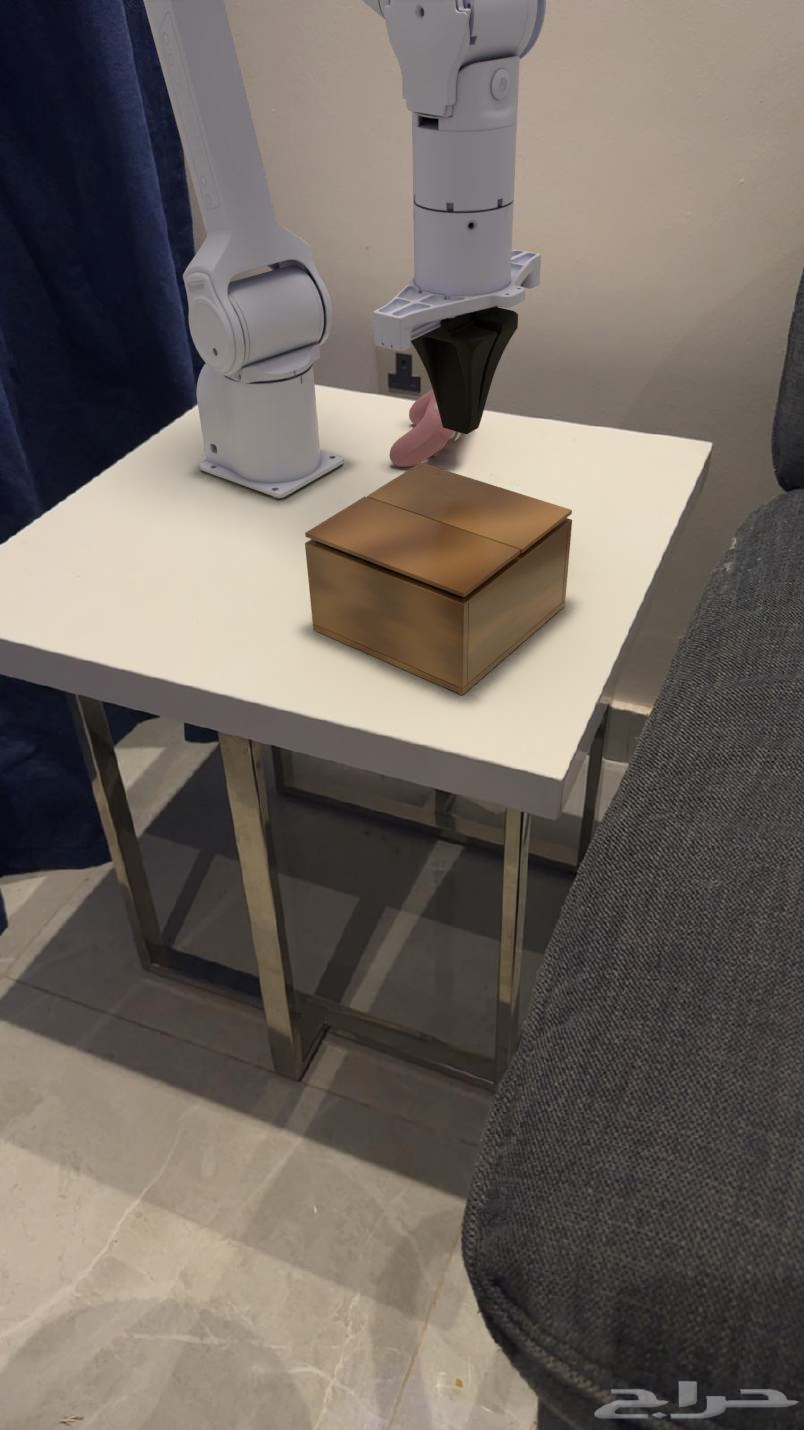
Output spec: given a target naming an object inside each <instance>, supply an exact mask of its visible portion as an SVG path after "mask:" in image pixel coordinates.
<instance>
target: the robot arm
mask: <svg viewBox="0 0 804 1430" xmlns="http://www.w3.org/2000/svg"><path fill="white" fill-rule="evenodd" d="M142 1H143V4H144V7H145V11H146V16H147V19H148V23H149V26H150V30H151V34H152V37H153V41H154V45H155V49H156V53H157V56H158V59H159V63H160V64H159V65H160V67H161V71H162V74H163V75H162V76H163V78H164V82H165V85H166V89H167V94H168V96H169V97H168V98H169V100H170V104H171V108H172V111H173V115H174V119H175V122H176V126H177V130H178V134H179V138H180V142H181V145H182V148H183V153H184V156H185V159H186V160H185V161H186V163H187V167H188V171H189V175H190V178H191V182H192V185H193V189H194V193H195V196H196V197H195V198H196V200H197V204H198V208H199V211H200V216H201V219H202V222H203V226H204V230H205V234H206V238H205V239H204V241H203V242H202V244H201V246H200V247H199V249H198V250H197V252H196V254H195V255H194V256H193V258H192V259H191V261H190V262H189V263H188V266H187V267H186V269H185V270H184V272H183V274H182V279H183V282H184V288H185V292H186V296H187V304H188V327H189V332H190V336H191V338H192V339H191V340H192V342H193V345H194V346H195V347H194V348H195V349H196V351H197V352H198V354H199V356H200V358H201V359H202V360H203V361H204V364H203V366H202V368H201V370H200V373H199V375H198V379H197V383H196V392H195V393H196V403H197V408H198V409H197V410H198V415H199V422H200V428H201V434H202V441H203V445H204V446H203V447H204V453H205V459H206V460H204V461H202V462H200V463H199V469H200V471H203V472H205V473H208V474H210V475H214V476H216V477H219V478H221V479H225V480H227V481H230V482H233V483H235V484H238V485H240V486H244V487H246V488H249V489H251V490H254V491H257V492H260V493H263V494H266V495H269V496H271V497H274V498H277V499H283V498H285V497H288V496H289V495H290V494H293V493H294V492H295V491H298V490H300V489H301V488H304V486H307V485H308V484H310V483H312V482H314V481H315V480H317V479H319V478H321V477H322V476H324V475H326V474H327V473H329V472H331V471H333V470H334V469H337V468H339V467H340V466H341V465H343V464H344V458H343V457H342V456H339V455H336V454H333V453H331V452H330V453H329V452H326V451H324V450H321V446H320V432H319V422H318V421H319V419H318V409H317V397H316V386H315V385H316V384H315V373H314V362H315V361H317V360H320V359H321V348H320V346H321V345H323V344H324V343H326V341H327V339H328V338H329V336H330V334H331V331H332V326H333V305H332V300H331V296H330V294H329V291H328V289H327V287H326V284H325V283H324V280H323V279H322V277H321V276H320V274H319V272H318V269H317V267H316V264H315V261H314V258H313V253H312V248H311V245H310V244H309V243H308V242H307V241H306V240H304V239H303V238H301V237H300V236H299V235H297V234H296V233H294V232H292V231H291V230H290V229H288V228H286V227H285V226H283V225H282V224H281V223H279V222H278V220H277V217H276V212H275V209H274V204H273V199H272V196H271V192H270V187H269V183H268V179H267V175H266V171H265V166H264V163H263V159H262V154H261V149H260V145H259V142H258V137H257V134H256V133H257V132H256V129H255V125H254V120H253V117H252V112H251V108H250V104H249V99H248V95H247V91H246V88H245V83H244V79H243V74H242V71H241V66H240V62H239V58H238V54H237V50H236V46H235V42H234V37H233V32H232V29H231V25H230V21H229V15H228V12H227V8H226V4H225V0H142ZM361 1H362V2H364V4H366V5H367V6H368V7H369V8H371V9H372V10H373V11H374V12H376V14H378V15H379V16H380V17H381V18H382V19H383V20H385V27H386V32H387V36H388V39H389V42H390V46H391V48H392V51H393V53H394V55H395V57H396V59H397V62H398V64H399V69H400V73H401V85H402V87H401V89H402V99H404V100H405V105H406V109H407V110H408V111H409V112H411V133H412V135H411V136H412V138H411V139H412V140H411V141H412V142H411V143H412V146H411V147H412V196H413V197H412V212H413V216H412V217H413V218H412V219H413V268H414V269H413V270H414V271H413V272H414V277H413V278H411V280H410V281H409V282H408V283H406V284H405V286H404V287H403V288H402V289H401V290H400V291H399V292H397V294H396V295H395V296H394V297H393V298H392V299H391V300H390V301H389V302H387V303H386V304H384V305H383V306H381V307H379V308H377V309H375V310H373V311H372V317H373V318H372V320H373V321H372V322H373V323H372V325H373V343H374V344H373V345H374V346H375V347H380V348H383V349H388V350H391V351H395V352H399V353H402V352H404V351H406V350H409V349H410V348H411V347H412V346H413V348H414V349H415V352H416V353H417V355H418V356H419V359H420V360H421V362H422V364H423V367H424V369H425V372H426V374H427V376H428V380H429V382H430V385H431V389H432V388H433V392H434V395H435V399H436V403H437V407H438V410H439V414H440V418H441V422H442V426H443V428H446V429H449V430H452V431H456V432H459V433H461V434H463V435H469V434H471V433H472V432H474V431H476V430H477V429H479V427H480V424H481V421H482V418H483V414H484V411H485V407H486V404H487V401H488V400H487V399H488V396H489V393H490V389H491V386H492V383H493V379H494V376H495V373H496V371H497V368H498V365H499V363H500V361H501V359H502V357H503V354H504V352H505V350H506V349H507V346H508V344H509V342H510V341H511V339H512V337H513V336H514V334H515V333H516V331H517V330H518V328H519V327H518V325H519V313H517V312H516V311H514V310H512V309H509V308H512V307H515V306H517V305H519V304H521V303H523V302H524V301H525V300H526V289H529V290H530V289H533V288H535V287H539V285H540V280H541V267H542V266H541V264H542V254H541V253H538V252H534V251H527V250H523V249H517V248H516V249H513V224H514V205H515V204H514V201H515V180H516V159H517V158H516V156H517V155H516V154H517V133H518V132H517V131H518V112H519V111H518V107H519V88H520V87H519V86H520V85H519V83H520V64H521V63H520V60H522V59H523V58H524V57H526V56H527V55H528V54H529V53H530V52H531V50H532V49H533V47H534V46H535V45H536V43H537V41H538V39H539V37H540V34H541V31H542V30H543V25H544V21H545V16H546V8H547V0H361ZM263 267H267V268H269V269H270V270H269V271H265V272H262V273H257V274H254V275H251V276H246V277H244V278H240V279H236V280H233V281H232V279H233V278H234V277H235V276H237V275H239V274H241V273H245V272H249V271H252V270H255V269H256V270H257V269H259V268H263Z"/></svg>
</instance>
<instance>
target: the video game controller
mask: <svg viewBox="0 0 804 1430" xmlns="http://www.w3.org/2000/svg"><path fill="white" fill-rule="evenodd" d="M408 417H409V421H410V422H411V423H412V424H413V425H415V426H414V427H413V428H412V429H410V430H409V431H407V432H406V433H405V434H403V435H402V436H401V437H399V438H398V439H397V440H396V441H395V442H393V444H392V446H391V447H390V450H389V460H390V461H391V463H392V464H393V465H394V466H396V467H400V468H404V467H414V466H416V465H417V464H419V463H423V462H424V461H426V460H427V459H429V458H431V457H433V456H434V457H435V458H436V457H438V456H439V454H440V452H441V451H442V450H443V449H444V447H445V446H446V444H447V442H448V441H450V440H451V439H453V440H454V441H457V440H458V439H459V438H460V437H461V435H462V433H459V432H456V431H452V430H449V429H446V428H443V426H442V422H441V418H440V414H439V410H438V407H437V403H436V399H435V395H434V392H433V388H432V387H431V389H430V390H429V391H427V392H426V393H425V394H423V395H422V396H420V397H419V398H418V399H416V400H415V401H414V402H413V404H412V405H411V406H410V408H409V411H408Z"/></svg>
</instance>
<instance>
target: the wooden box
mask: <svg viewBox="0 0 804 1430" xmlns="http://www.w3.org/2000/svg"><path fill="white" fill-rule="evenodd" d="M572 528H573V519H572V518H568V517H567V518H566V519H565V520H563V521H562V522H561V523H560V524H558V525H557V526H556V527H555V528H553V529H552V530H551V531H549V532H548V533H547V534H546V535H544V536H543V537H542V538H541V539H539V540H538V541H537V542H536V543H534V544H533V545H532V546H530V547H529V548H528V549H527V550H525V551H524V552H523V553H520V549H517V548H514V547H511V546H508V545H505V544H502V543H499V542H496V541H493V540H491V539H488V538H485V537H482V536H479V535H476V534H473V533H470V532H467V531H464V530H462V529H459V528H456V527H453V526H450V525H447V524H444V523H441V522H438V521H435V520H432V519H430V518H427V517H424V516H421V515H418V514H415V513H412V512H409V511H406V510H403V509H401V508H398V507H395V506H392V505H389V504H386V503H383V502H380V501H377V500H374V499H372V498H369V497H367V495H365V496H363V497H362V498H359V499H358V500H356V501H355V502H353V503H352V504H350V505H348V506H346V507H345V508H342V509H341V510H339V512H337V513H335V514H333V515H332V516H330V517H329V518H327V519H324V521H322V522H320V523H319V524H317V525H316V526H314V527H312V528H310V529H309V530H307V531H306V532H305V533H304V536H305V538H307V539H310V540H308V541H306V542H305V543H304V548H305V549H304V550H305V560H306V568H307V581H308V589H309V590H308V592H309V600H310V601H309V602H310V610H311V621H312V630H313V631H315V632H317V633H320V634H322V635H325V636H326V637H329V638H331V639H333V640H336V641H338V642H340V643H343V644H344V645H347V646H350V647H352V648H354V649H356V650H359V651H361V652H363V653H365V654H367V655H370V656H372V657H374V658H376V659H378V660H381V661H383V662H386V663H388V664H390V665H392V666H395V667H398V668H400V669H401V670H404V671H407V672H409V673H411V674H412V675H415V676H417V677H420V678H422V679H425V680H426V681H429V682H432V683H433V684H436V685H437V686H440V687H443V688H445V689H447V690H450V691H452V692H454V693H456V694H459V695H461V696H463V695H464V694H466V692H468V691H469V690H470V689H472V688H473V686H475V685H476V684H477V683H479V681H480V680H482V679H483V678H484V677H485V676H486V675H487V674H488V673H490V672H491V671H492V670H494V668H496V667H497V666H498V665H499V664H500V663H501V662H502V661H504V659H506V657H508V656H509V655H510V654H511V653H513V652H514V651H515V650H516V649H518V648H519V646H520V645H522V644H523V643H524V642H526V640H528V639H529V638H530V637H531V636H532V635H533V634H535V633H536V632H537V631H538V630H539V629H540V628H541V627H543V626H544V625H546V623H547V622H548V621H549V620H551V618H553V617H554V616H555V615H556V614H558V613H559V611H561V610H562V609H563V608H564V607H566V598H567V597H566V596H567V588H568V587H567V586H568V575H569V565H570V564H569V563H570V553H571V552H570V551H571V539H572Z"/></svg>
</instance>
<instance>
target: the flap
mask: <svg viewBox="0 0 804 1430" xmlns="http://www.w3.org/2000/svg"><path fill="white" fill-rule="evenodd" d="M366 497H369V498H372V499H374V500H377V501H380V502H383V503H386V504H389V505H392V506H395V507H398V508H401V509H403V510H406V511H409V512H412V513H415V514H418V515H421V516H424V517H427V518H430V519H432V520H435V521H438V522H441V523H444V524H447V525H450V526H453V527H456V528H459V529H462V530H464V531H467V532H470V533H473V534H476V535H479V536H482V537H485V538H488V539H491V540H493V541H496V542H499V543H502V544H505V545H508V546H511V547H514V548H517V549H520V553H523V552H524V551H525V550H527V549H528V548H529V547H530V546H532V545H533V544H534V543H536V542H537V541H538V540H539V539H541V538H542V537H543V536H544V535H546V534H547V533H548V532H549V531H551V530H552V529H553V528H555V527H556V526H557V525H558V524H560V523H561V522H562V521H563V520H565V519H566V518H568V517H570V516H571V515H572V514H573V509H570V508H567V507H564V506H561V505H557V504H554V503H551V502H548V501H545V500H542V499H539V498H536V497H532V496H529V495H526V494H523V493H519V492H517V491H513V490H509V489H507V488H503V487H500V486H497V485H494V484H491V483H487V482H484V481H481V480H478V479H474V478H471V477H468V476H465V475H462V474H459V473H455V472H452V471H449V470H446V469H443V468H440V467H436V466H434V465H430V464H427V463H424V462H421V463H418V464H416V465H413V466H411V468H410V469H408V470H406V471H404V472H403V473H402V474H399V475H398V476H396V477H395V478H393V479H392V480H390V481H387V483H385V484H384V485H382V486H380V487H379V488H377V489H376V490H373V492H371V493H369V494H368V495H366Z"/></svg>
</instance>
